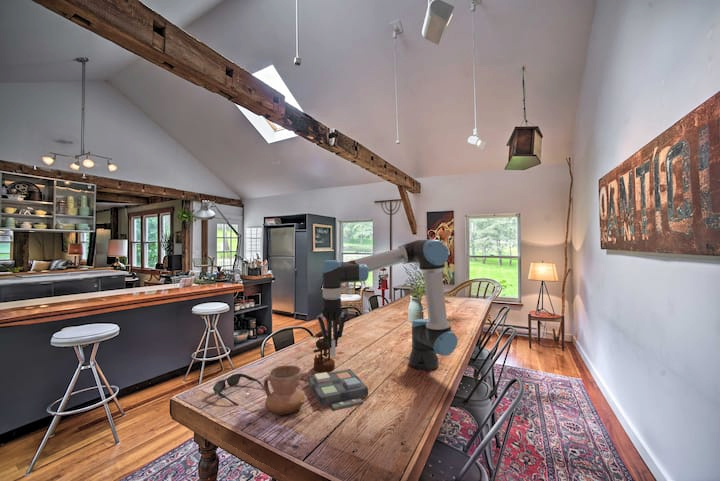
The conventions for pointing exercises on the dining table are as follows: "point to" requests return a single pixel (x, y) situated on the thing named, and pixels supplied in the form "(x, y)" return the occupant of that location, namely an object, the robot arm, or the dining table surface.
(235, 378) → the sunglasses
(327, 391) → the sage key
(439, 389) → the dining table surface
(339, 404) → the plaque
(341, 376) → the terracotta key
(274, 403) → the ceramic jug
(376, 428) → the dining table surface
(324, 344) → the music box
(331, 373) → the keypad
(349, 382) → the slate key
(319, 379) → the cream key
